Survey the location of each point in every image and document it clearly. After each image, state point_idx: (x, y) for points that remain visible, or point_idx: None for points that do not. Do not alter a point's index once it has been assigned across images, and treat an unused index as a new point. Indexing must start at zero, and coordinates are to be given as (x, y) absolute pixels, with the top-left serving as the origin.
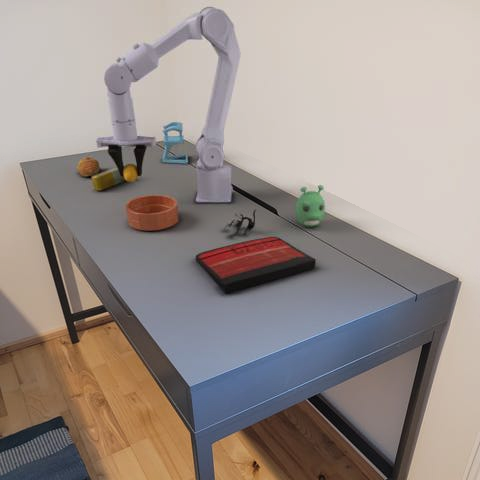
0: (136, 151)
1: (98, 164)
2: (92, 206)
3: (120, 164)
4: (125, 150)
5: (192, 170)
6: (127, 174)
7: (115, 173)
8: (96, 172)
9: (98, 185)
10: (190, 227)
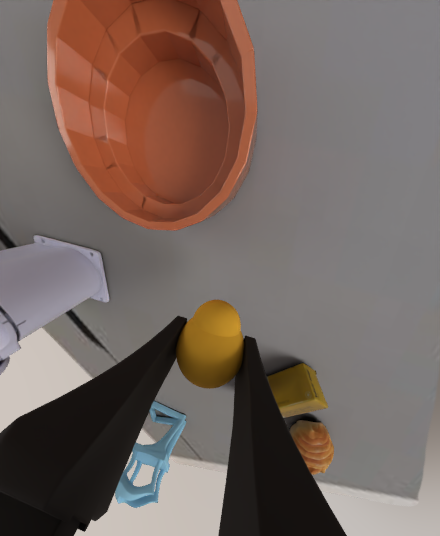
0: (32, 469)
1: None
2: (340, 296)
3: (246, 390)
4: None
5: None
6: (222, 323)
7: None
8: (298, 426)
9: (309, 376)
10: None
